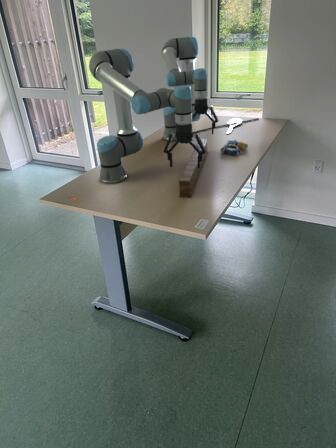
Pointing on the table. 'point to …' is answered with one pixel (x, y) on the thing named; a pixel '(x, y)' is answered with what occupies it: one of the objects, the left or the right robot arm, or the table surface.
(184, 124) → the left robot arm
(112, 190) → the table surface
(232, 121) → the spoon
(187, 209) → the table surface
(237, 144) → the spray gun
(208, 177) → the table surface
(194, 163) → the bar
